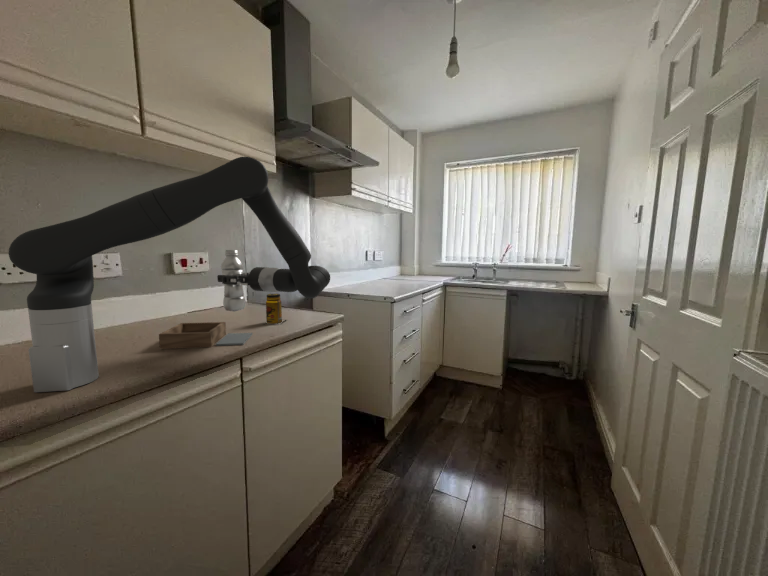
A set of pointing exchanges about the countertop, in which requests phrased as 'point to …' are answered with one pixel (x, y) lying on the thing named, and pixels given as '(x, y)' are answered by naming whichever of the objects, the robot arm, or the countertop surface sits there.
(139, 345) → the countertop surface
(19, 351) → the countertop surface
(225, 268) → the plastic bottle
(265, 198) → the robot arm
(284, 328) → the countertop surface
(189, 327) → the walnut frame
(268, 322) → the condiment
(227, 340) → the grey mat
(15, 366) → the countertop surface
